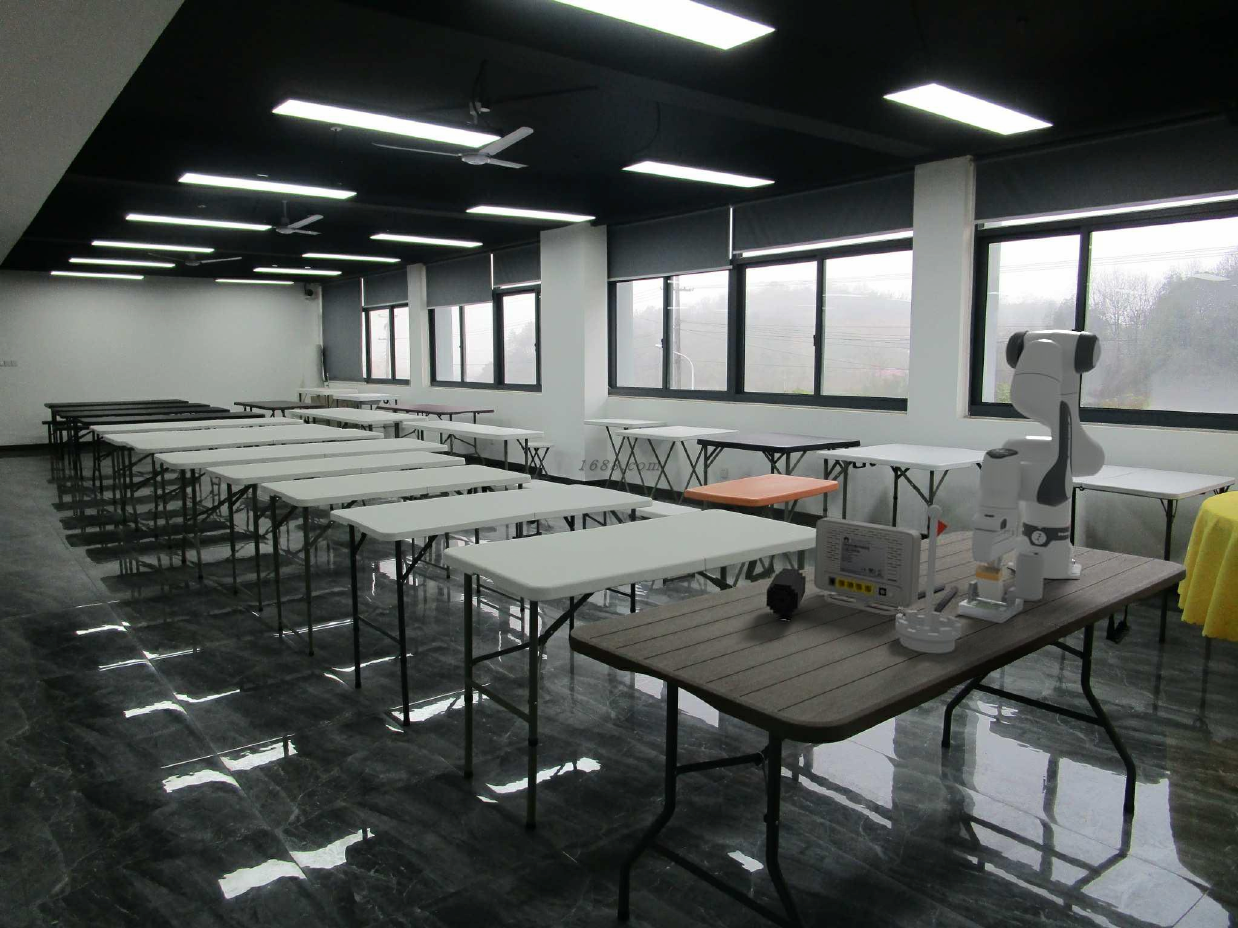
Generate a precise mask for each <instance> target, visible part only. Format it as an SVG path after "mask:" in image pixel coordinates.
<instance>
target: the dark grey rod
mask: <svg viewBox="0 0 1238 928" xmlns="http://www.w3.org/2000/svg"><path fill="white" fill-rule="evenodd" d="M958 590H959V587H958V586H957V585H954V586H952V587H951V588H950V590H949V591H948V592H947V593H946V594H945V595H944V596H943V598H941V600H939V602H938V603H937V605H935V607H933V612H938V613H941V612H940V611H941V610H943V609H944V607H945V606H946V604H947V603H949V601H950V600H951V599H952V598H953V596H954V595H955V594H956V593H957V592H958Z"/></svg>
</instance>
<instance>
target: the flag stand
mask: <svg viewBox="0 0 1238 928" xmlns="http://www.w3.org/2000/svg"><path fill="white" fill-rule="evenodd" d="M926 513H927V516H928V517H929V518H930V519H929V521H930V522H929V535H928V536H929V538H928V549H927V551H928V552H927V553H928V554H927V569H926V570H927V571H926V584H925V585H926V587H925V589H926V595H925V603H924V604H925V606H924V615H919V612H918V611H917V610H915V609H913V610H905V615H904V613H901V612H900V613H898V614H895V626H894V628H895V630H897V631H898V633H899V643H900V642H901V643H900V644H901V645H902V646H903V647H905V646H906V647H905V648H907V647H908V648H907V649H909V650H913V651H917V652H922V653H928V654H929V653H930V654H944V653H950V652H952V651H954V650H955V647H956V640H957V639H958V638H960V637H961V636H962V623H961V622H959V619H958V618H956V617H955V616H953V615H948V616H947V618H941V612H935V611H934V593H935V592H934V586H935V576H936V575H935V574H936V558H937V543H938V542H937V541H938V537H939V536H940V535H941V534H942V533H943V532H944V531H946V529H947V528H948V527H949V525H947V524H945V523H944V522H943V521H941V520H939V518H941V516H942V514H943V511H942V508H941V507H940V506H939V505H936V504H932V505H930V506H928V508H927V510H926Z"/></svg>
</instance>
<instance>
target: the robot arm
mask: <svg viewBox="0 0 1238 928" xmlns="http://www.w3.org/2000/svg"><path fill="white" fill-rule="evenodd" d="M1004 350H1005V351H1004V353H1005V359H1006V364H1008V366H1010V368H1011V369H1014V371H1013V376H1012V378H1011V379H1012V380H1011V383H1010V389H1009V399H1010V403H1011V404H1012V406H1013V407H1014V409H1015V410H1016V411H1017V412H1019V414H1021V415H1023V416H1024V417H1026V418H1028V419H1031V420H1032V421H1035V422H1037V423H1038V424H1041V425H1042V426H1044V427H1047V428H1048V429H1050V436H1047V435H1046V436H1045V435H1044V436H1042V435H1020V436H1013V437H1009V438H1008V439H1007V440H1005V441H1004V443H1003V444H1002V446H1001V447H999V448H992V449H990V450H987V451H986V452H984V455H983V459H982V462H981V468H980V473H979V474H980V475H979V484H978V485H979V486H978V487H979V490H980V495H979V498H978V503H977V509H976V513H975V515H974V516H973V517H972V518H971V521H970V527H971V528H972V529H973V531H972V536H971V555H972V558H973V561H975V562H980V563H985V564H986V566H990V567H996V568H1001V565H1002V563H1003V559H1004V558H1003V557H1004V556H1005V555H1006V554H1009V553H1011V552H1012V551H1014V552H1013V559H1012V562H1008V563H1007V564H1006V567H1007V568H1009V569H1012V570H1014V571H1015V572H1016V558H1017V555H1018V554H1019V551H1022V550H1029V551H1037V552H1041V553H1043V557H1044V558H1045V564H1044V577H1043V579H1054V580H1056V579H1057V580H1058V579H1060V580H1062V579H1071V580H1079V579H1080V577H1081V572H1082V565H1081V564H1079V563H1076V560H1075V559H1074V556H1075V548H1074V546H1073V543H1071V541H1070V537H1071V536H1070V534H1071V524H1070V523H1069V519H1070V508H1071V506H1070V505H1071V502H1070V499H1071V497H1072V494H1073V491H1074V478H1084V477H1092V476H1095V475H1097V474H1098V473H1099V472H1100V471H1101V470H1102V468H1103V466H1104V465H1105V461H1106V457H1105V450H1104V448H1103V447H1102V445H1101V444H1100V443H1099V442H1098V441H1097V440H1095V439H1094V438H1092V437H1091V436H1090V435H1089V434H1088V433H1087V432H1086V430H1085V429H1084V427H1083V425H1082V423H1081V421H1080V415H1079V401H1080V400H1079V399H1080V385H1081V384H1080V383H1081V381H1080V379H1081V378H1080V377H1081V376H1080V375H1083V374H1085V373H1089V372H1090V371H1092V370H1093V369H1095V368H1096V366H1097V364H1098V362H1099V360H1100V358H1101V355H1102V347H1101V343H1100V338H1099V337H1098V336H1097V335H1096V334H1095V333H1093V332H1092V333H1091V332H1088V331H1081V332H1080V331H1079V332H1078V331H1072V330H1066V329H1065V330H1063V329H1053V330H1052V329H1051V330H1048V329H1047V330H1032V331H1031V330H1030V331H1029V330H1021V331H1016V332H1014V333H1013V334H1012V335H1011V336H1009V338H1008V341H1007V344H1006V346H1005V349H1004ZM1019 502H1024V521H1023V522H1022V526H1021V535H1022V536H1020V537H1019V538H1018V537H1017V536H1018V529H1017V528H1018V526H1019V514H1020V504H1019ZM1017 538H1018V539H1017Z"/></svg>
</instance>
